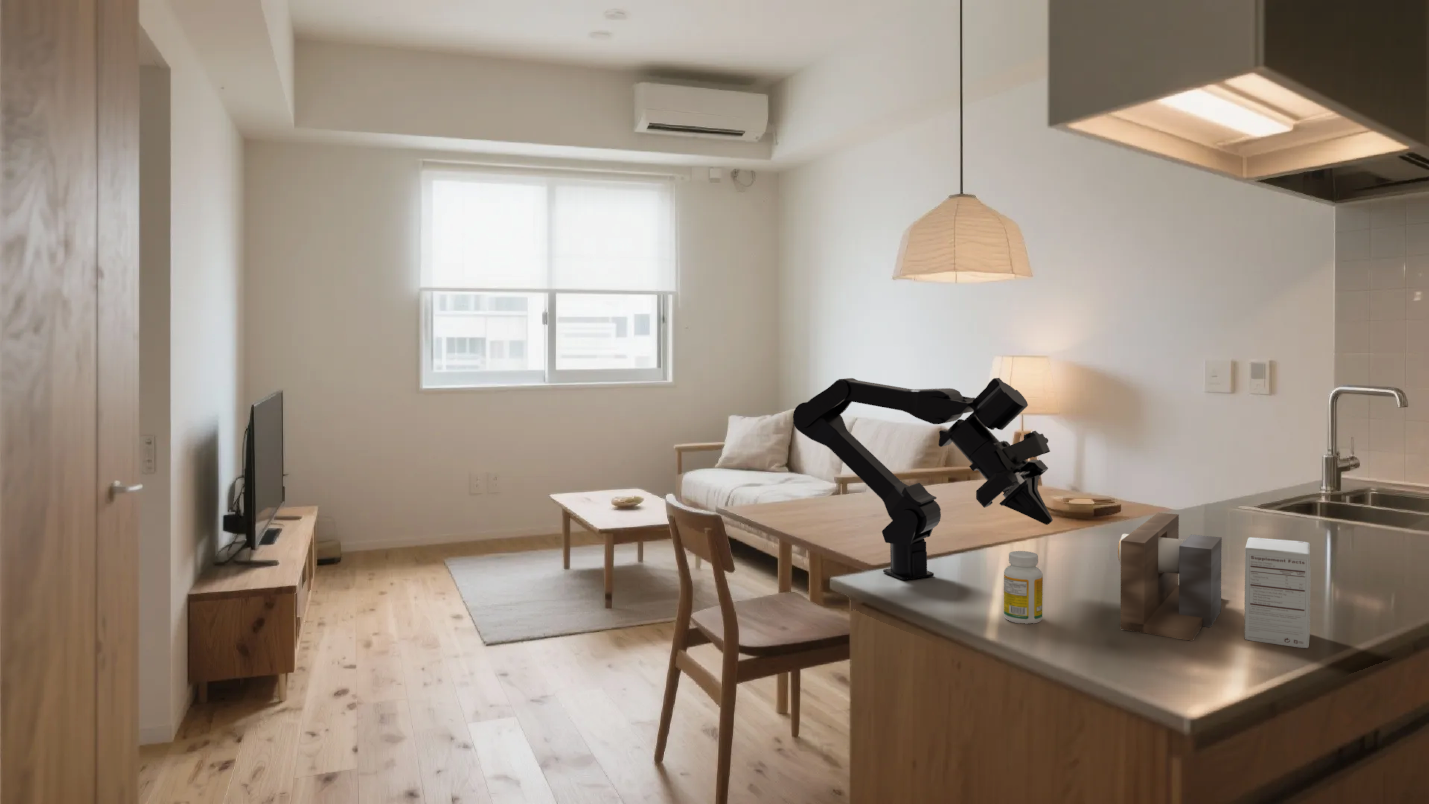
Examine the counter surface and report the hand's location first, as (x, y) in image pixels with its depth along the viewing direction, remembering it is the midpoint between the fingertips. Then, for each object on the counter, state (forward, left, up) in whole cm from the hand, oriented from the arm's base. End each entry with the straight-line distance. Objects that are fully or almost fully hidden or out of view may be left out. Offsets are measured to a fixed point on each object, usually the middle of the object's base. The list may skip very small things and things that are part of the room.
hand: (1050, 522), depth 143 cm
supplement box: (+29, +12, -12) cm, 33 cm away
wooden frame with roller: (+16, +9, -12) cm, 21 cm away
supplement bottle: (+8, -12, -12) cm, 19 cm away
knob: (+13, +7, -6) cm, 16 cm away
